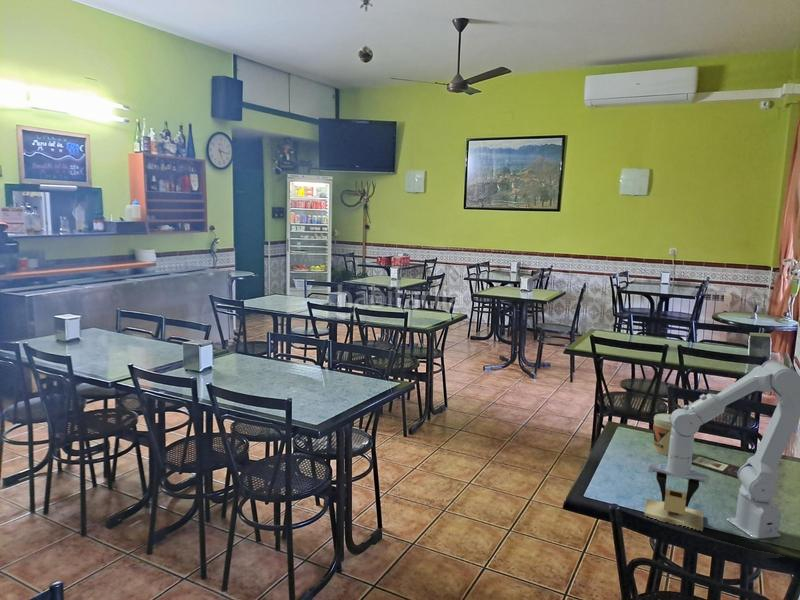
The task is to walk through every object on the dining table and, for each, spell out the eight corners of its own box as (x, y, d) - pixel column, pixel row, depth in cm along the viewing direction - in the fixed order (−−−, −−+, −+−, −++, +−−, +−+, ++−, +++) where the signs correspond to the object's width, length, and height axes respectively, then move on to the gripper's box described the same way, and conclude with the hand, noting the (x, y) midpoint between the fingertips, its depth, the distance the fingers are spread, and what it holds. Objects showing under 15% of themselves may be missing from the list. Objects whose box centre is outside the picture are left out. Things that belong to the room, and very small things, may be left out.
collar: (684, 506, 157) (686, 492, 156) (684, 514, 152) (686, 500, 152) (664, 501, 159) (666, 488, 159) (663, 509, 155) (665, 495, 154)
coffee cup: (645, 446, 204) (648, 413, 202) (668, 445, 206) (672, 412, 204) (661, 457, 195) (665, 423, 193) (686, 456, 197) (690, 422, 195)
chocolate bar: (753, 481, 178) (691, 462, 190) (752, 484, 178) (690, 465, 190) (760, 473, 184) (700, 455, 196) (760, 476, 184) (700, 458, 197)
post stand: (702, 515, 157) (704, 500, 156) (702, 531, 149) (704, 515, 148) (646, 502, 163) (648, 487, 163) (644, 517, 155) (645, 501, 155)
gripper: (710, 455, 154) (705, 502, 156) (651, 443, 160) (647, 489, 162) (711, 464, 148) (705, 514, 150) (649, 452, 154) (644, 500, 156)
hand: (675, 502), depth 155 cm, fingers closed on collar, 5 cm apart
